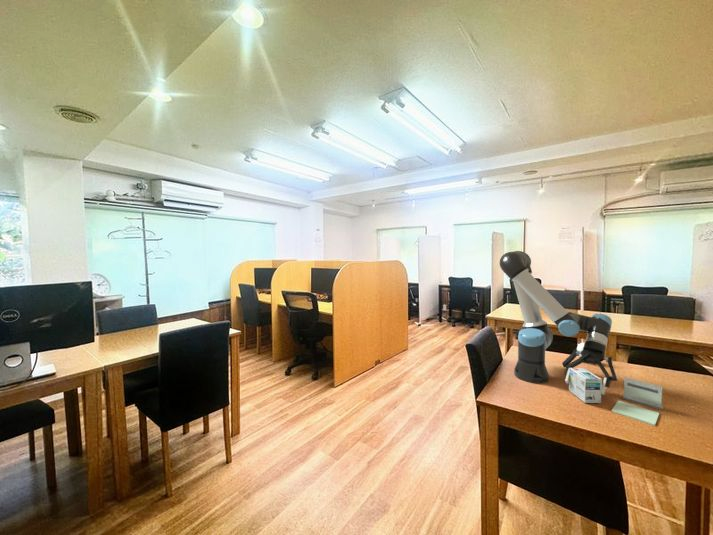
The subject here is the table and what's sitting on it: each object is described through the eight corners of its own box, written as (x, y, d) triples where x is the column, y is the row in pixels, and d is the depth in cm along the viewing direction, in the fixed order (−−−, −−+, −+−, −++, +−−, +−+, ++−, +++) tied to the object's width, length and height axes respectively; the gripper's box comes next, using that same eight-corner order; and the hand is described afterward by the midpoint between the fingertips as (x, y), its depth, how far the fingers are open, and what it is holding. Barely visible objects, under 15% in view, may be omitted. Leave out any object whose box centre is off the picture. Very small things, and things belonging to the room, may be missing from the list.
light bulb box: (601, 403, 120) (603, 378, 119) (584, 403, 120) (585, 378, 119) (583, 390, 130) (584, 367, 129) (567, 390, 131) (568, 367, 130)
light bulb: (590, 360, 162) (591, 341, 161) (592, 365, 156) (593, 345, 156) (575, 358, 166) (576, 340, 165) (577, 362, 160) (577, 343, 159)
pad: (611, 411, 114) (611, 410, 114) (618, 401, 121) (618, 400, 121) (654, 425, 105) (655, 424, 105) (659, 414, 112) (659, 412, 112)
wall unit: (622, 398, 123) (623, 378, 122) (623, 396, 125) (624, 376, 124) (661, 410, 114) (662, 388, 113) (662, 408, 116) (663, 386, 115)
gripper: (631, 356, 125) (622, 402, 117) (565, 342, 144) (553, 381, 136) (630, 347, 121) (620, 394, 113) (562, 334, 140) (549, 373, 132)
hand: (583, 387), depth 124 cm, fingers closed on light bulb box, 12 cm apart
